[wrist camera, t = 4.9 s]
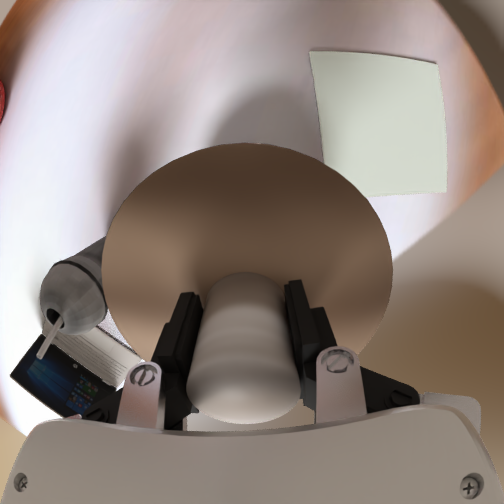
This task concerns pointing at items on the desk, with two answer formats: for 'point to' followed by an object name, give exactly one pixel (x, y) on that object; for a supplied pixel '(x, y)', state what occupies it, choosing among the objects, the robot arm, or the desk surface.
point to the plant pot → (1, 99)
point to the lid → (245, 268)
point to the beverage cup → (74, 294)
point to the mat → (381, 122)
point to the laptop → (74, 370)
